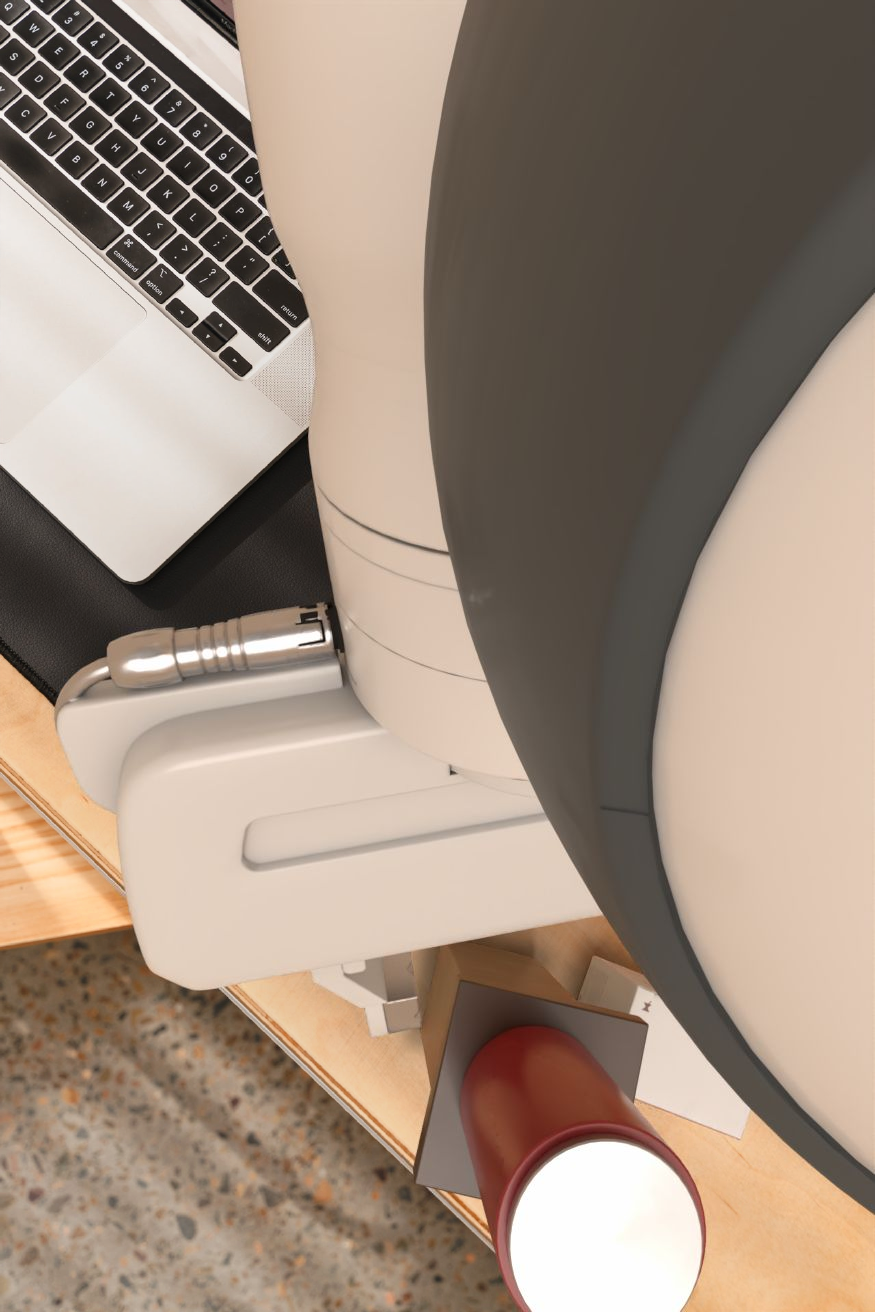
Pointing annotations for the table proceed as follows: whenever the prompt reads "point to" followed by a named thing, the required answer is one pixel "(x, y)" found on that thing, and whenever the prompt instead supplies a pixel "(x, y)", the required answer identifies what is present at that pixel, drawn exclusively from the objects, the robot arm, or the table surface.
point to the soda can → (577, 1182)
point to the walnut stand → (482, 1007)
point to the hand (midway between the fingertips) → (556, 980)
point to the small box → (666, 1053)
